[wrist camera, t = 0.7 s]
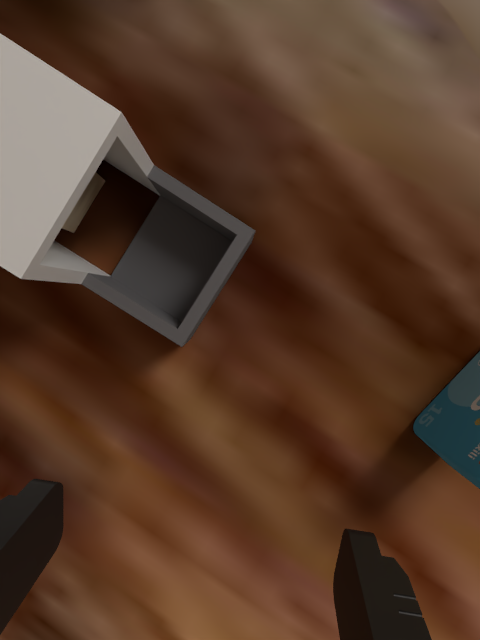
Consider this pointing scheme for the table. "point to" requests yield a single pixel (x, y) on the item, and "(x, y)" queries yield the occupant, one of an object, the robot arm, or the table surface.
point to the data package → (456, 422)
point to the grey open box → (175, 261)
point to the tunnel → (52, 162)
